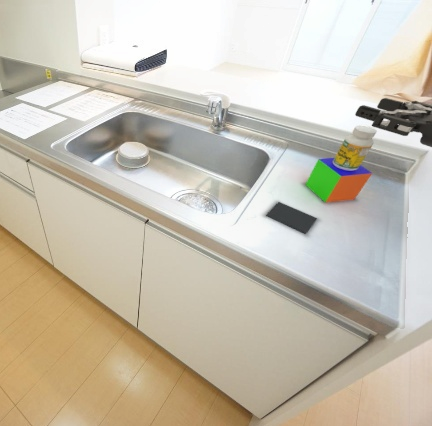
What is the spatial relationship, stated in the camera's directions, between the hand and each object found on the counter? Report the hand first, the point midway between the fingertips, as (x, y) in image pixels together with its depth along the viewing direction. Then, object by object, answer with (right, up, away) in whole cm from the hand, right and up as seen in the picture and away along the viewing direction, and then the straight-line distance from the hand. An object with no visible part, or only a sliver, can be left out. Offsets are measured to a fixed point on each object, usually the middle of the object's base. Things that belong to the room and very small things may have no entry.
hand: (369, 106), depth 61 cm
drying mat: (-13, -25, +6) cm, 29 cm away
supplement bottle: (+1, -12, +8) cm, 15 cm away
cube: (+2, -18, +14) cm, 22 cm away
